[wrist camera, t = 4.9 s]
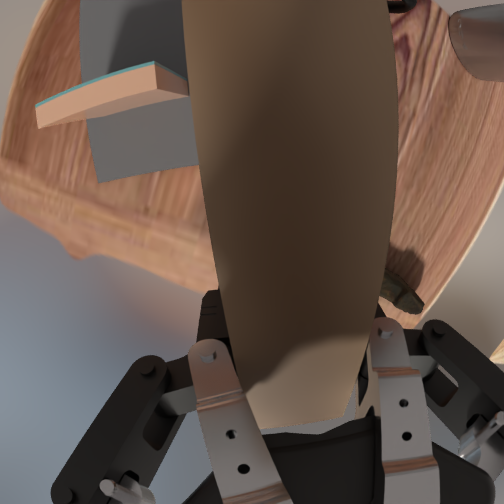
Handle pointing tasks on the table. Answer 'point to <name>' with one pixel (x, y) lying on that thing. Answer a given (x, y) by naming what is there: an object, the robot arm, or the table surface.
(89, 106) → the tile
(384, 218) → the tan wooden bar
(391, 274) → the hand tool
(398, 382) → the robot arm
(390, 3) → the mug
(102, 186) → the table surface
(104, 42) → the rubber mat
